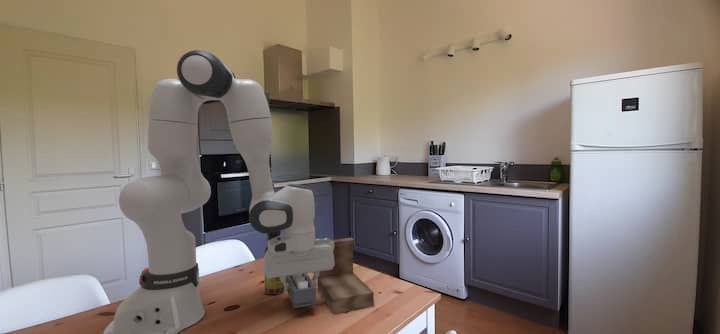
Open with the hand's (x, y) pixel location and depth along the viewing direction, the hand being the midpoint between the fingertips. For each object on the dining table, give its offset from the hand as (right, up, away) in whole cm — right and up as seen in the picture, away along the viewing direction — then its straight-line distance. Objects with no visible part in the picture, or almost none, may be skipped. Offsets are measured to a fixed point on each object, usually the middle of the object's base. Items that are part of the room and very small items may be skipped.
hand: (299, 288), depth 94 cm
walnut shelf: (+13, -5, +5) cm, 14 cm away
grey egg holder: (0, -2, 0) cm, 2 cm away
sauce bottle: (-10, -5, +11) cm, 15 cm away
